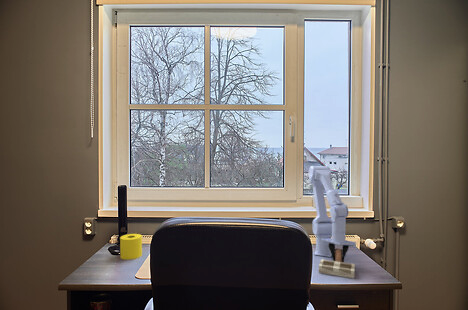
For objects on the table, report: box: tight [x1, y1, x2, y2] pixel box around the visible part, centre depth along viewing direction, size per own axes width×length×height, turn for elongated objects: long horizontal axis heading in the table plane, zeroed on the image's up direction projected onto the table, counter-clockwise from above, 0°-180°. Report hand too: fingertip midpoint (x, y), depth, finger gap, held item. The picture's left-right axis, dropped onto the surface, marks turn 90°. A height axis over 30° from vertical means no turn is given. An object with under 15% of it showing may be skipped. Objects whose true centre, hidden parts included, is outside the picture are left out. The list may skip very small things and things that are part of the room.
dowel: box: [335, 247, 342, 262], centre depth 135 cm, size 3×3×7 cm
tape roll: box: [119, 233, 143, 261], centre depth 146 cm, size 10×10×9 cm
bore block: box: [318, 259, 356, 279], centre depth 128 cm, size 8×14×3 cm, turn 66°
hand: (338, 260), depth 135 cm, fingers closed on dowel, 3 cm apart
